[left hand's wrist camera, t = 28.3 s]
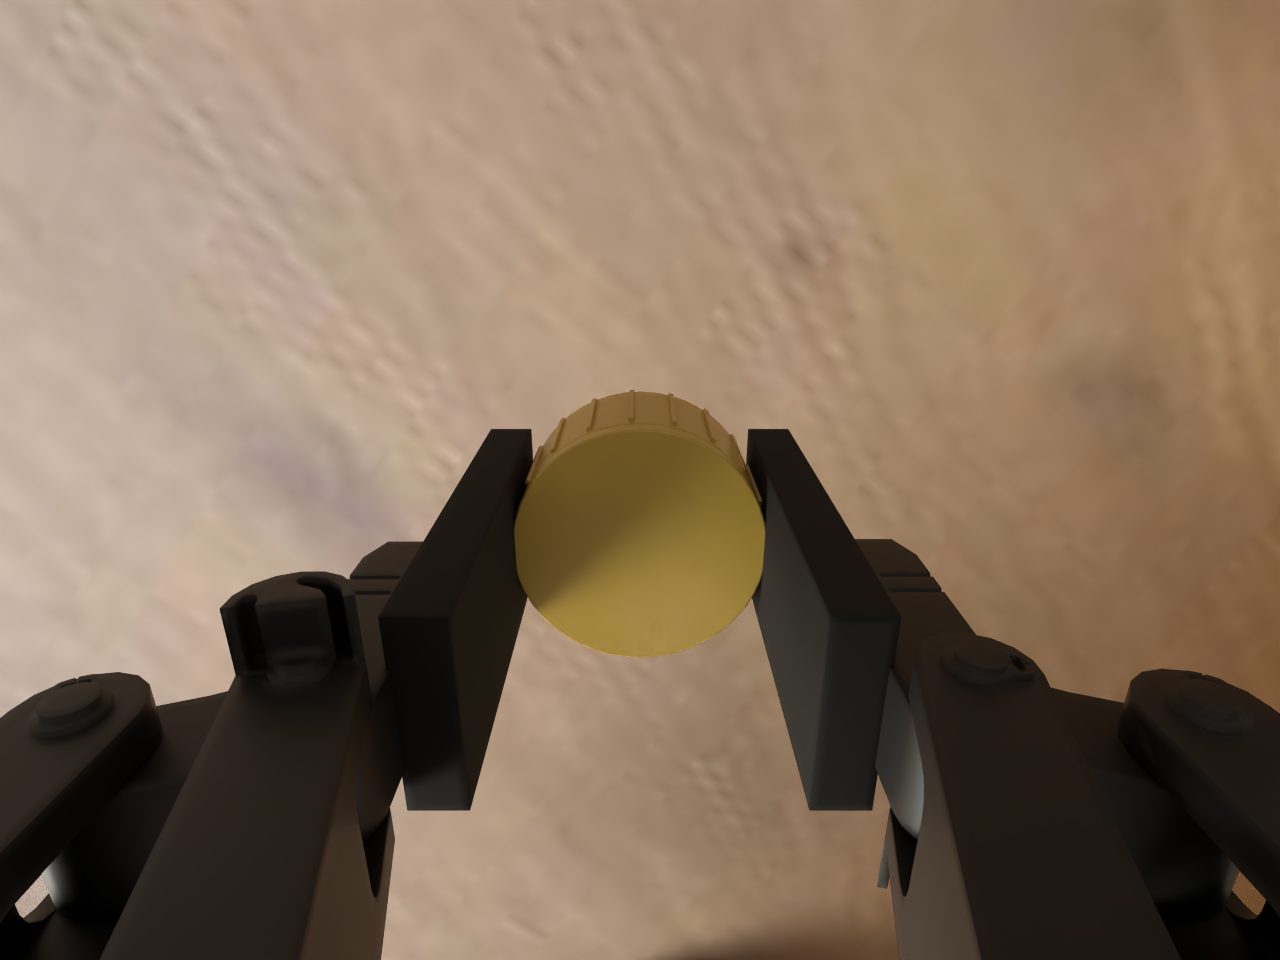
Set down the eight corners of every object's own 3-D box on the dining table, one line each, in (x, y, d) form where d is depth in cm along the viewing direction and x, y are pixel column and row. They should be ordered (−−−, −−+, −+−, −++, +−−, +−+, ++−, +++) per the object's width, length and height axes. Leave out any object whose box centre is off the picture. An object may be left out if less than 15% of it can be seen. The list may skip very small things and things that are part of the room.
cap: (555, 360, 13) (539, 394, 11) (782, 420, 14) (808, 464, 12) (508, 564, 15) (486, 629, 13) (713, 613, 15) (725, 683, 13)
